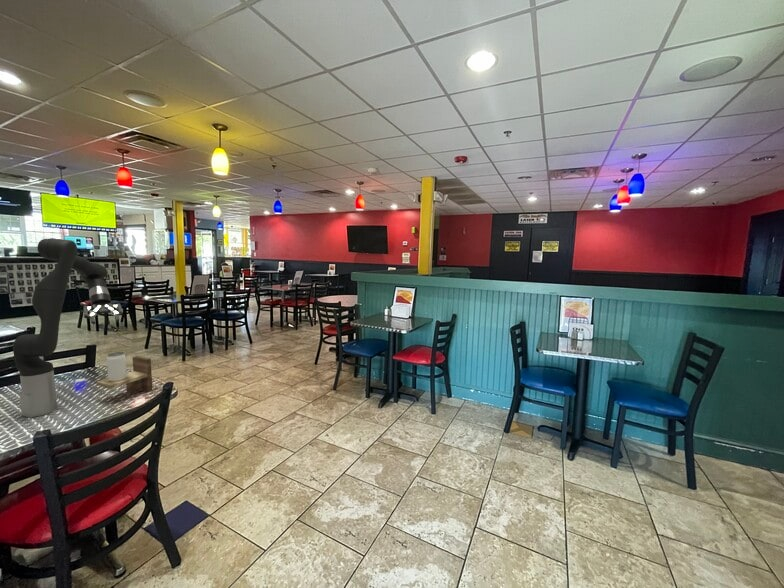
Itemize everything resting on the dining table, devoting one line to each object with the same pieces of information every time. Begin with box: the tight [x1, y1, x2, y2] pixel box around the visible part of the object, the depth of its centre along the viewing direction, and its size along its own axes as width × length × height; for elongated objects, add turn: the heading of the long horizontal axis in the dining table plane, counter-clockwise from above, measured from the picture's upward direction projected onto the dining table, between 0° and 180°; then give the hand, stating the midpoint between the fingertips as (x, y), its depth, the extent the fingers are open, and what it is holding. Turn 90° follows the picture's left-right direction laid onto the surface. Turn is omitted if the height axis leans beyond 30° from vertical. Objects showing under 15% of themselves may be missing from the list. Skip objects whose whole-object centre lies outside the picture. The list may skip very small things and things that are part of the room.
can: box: [106, 351, 128, 382], centre depth 145 cm, size 6×6×12 cm
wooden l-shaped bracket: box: [96, 355, 154, 396], centre depth 148 cm, size 17×10×16 cm, turn 161°
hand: (106, 322), depth 155 cm, fingers open, 8 cm apart
